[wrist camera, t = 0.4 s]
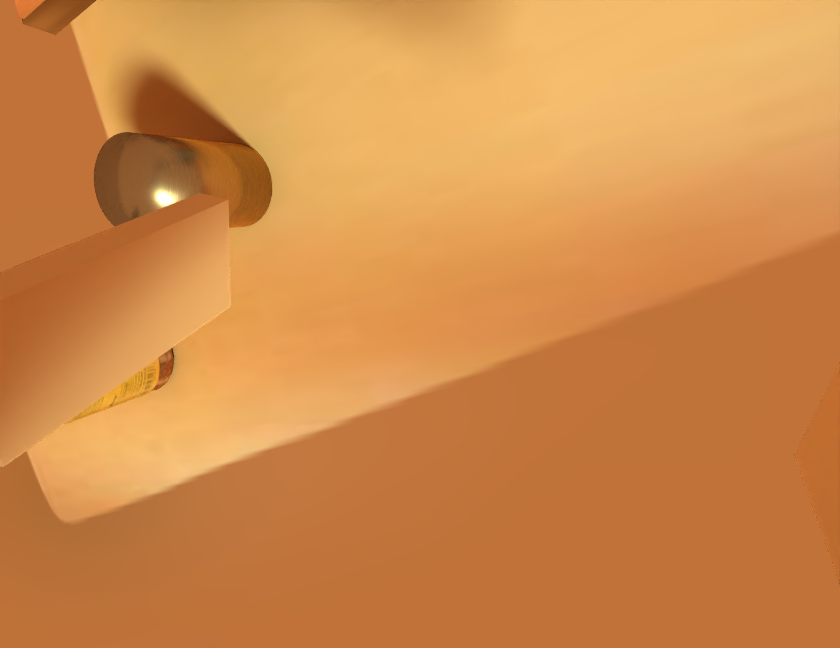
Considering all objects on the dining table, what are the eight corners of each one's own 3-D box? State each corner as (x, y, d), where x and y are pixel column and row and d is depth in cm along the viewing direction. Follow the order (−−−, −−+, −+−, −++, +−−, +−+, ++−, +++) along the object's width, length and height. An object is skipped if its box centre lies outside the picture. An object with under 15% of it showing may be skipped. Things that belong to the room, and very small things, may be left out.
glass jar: (211, 136, 48) (97, 123, 39) (277, 153, 46) (172, 143, 37) (202, 215, 49) (91, 220, 40) (265, 235, 47) (163, 245, 38)
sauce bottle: (161, 308, 53) (-115, 367, 35) (188, 380, 53) (-74, 474, 35) (110, 331, 56) (-170, 395, 38) (136, 398, 56) (-131, 494, 38)
